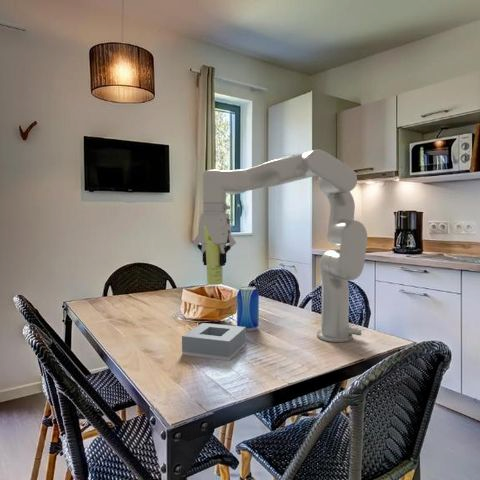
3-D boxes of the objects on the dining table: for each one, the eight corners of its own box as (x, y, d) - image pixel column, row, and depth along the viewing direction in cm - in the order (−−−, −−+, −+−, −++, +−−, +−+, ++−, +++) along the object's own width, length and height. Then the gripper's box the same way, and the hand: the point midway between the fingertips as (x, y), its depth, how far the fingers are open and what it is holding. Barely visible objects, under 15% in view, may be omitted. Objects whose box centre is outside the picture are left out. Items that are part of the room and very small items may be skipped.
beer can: (256, 332, 148) (256, 290, 147) (234, 331, 150) (234, 289, 149) (260, 326, 156) (260, 286, 155) (239, 325, 158) (239, 285, 157)
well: (245, 344, 134) (245, 327, 134) (229, 360, 119) (229, 341, 119) (202, 339, 140) (202, 322, 139) (182, 354, 124) (181, 336, 124)
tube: (218, 285, 124) (217, 224, 123) (203, 285, 126) (203, 224, 125) (224, 282, 130) (224, 223, 129) (210, 282, 131) (209, 223, 130)
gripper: (243, 209, 127) (242, 265, 128) (195, 209, 133) (195, 262, 134) (235, 208, 120) (235, 267, 121) (185, 208, 126) (185, 265, 127)
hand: (214, 264), depth 128 cm, fingers closed on tube, 5 cm apart
